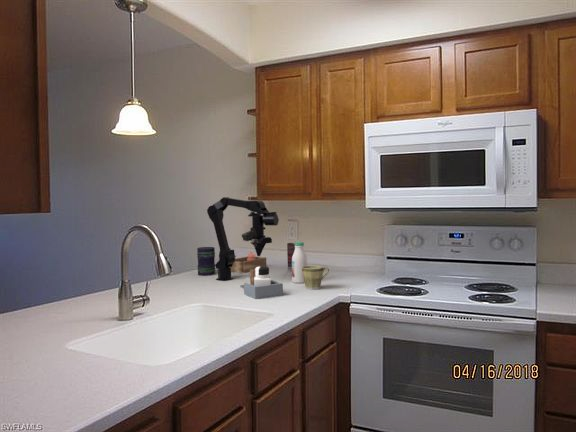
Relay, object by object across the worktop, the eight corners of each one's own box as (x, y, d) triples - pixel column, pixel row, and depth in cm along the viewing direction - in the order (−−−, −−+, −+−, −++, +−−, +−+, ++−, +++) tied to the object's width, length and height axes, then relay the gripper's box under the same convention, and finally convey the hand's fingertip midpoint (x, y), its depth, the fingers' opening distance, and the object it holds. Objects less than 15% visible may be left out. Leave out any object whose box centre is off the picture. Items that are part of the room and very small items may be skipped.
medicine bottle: (270, 291, 207) (269, 265, 207) (270, 295, 200) (270, 267, 199) (254, 292, 206) (253, 265, 206) (254, 295, 199) (254, 268, 199)
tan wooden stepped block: (245, 289, 208) (244, 269, 207) (260, 287, 212) (260, 268, 211) (249, 291, 204) (249, 271, 203) (265, 289, 208) (265, 269, 207)
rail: (240, 286, 219) (240, 285, 219) (244, 286, 221) (244, 284, 221) (247, 289, 212) (247, 288, 212) (251, 288, 214) (251, 287, 214)
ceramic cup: (305, 291, 207) (304, 269, 207) (300, 286, 217) (299, 265, 216) (332, 289, 210) (332, 267, 209) (326, 285, 220) (326, 264, 219)
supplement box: (303, 270, 264) (303, 243, 264) (298, 271, 261) (297, 243, 260) (292, 269, 270) (292, 242, 270) (287, 270, 267) (286, 243, 266)
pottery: (241, 272, 261) (241, 255, 261) (229, 271, 267) (229, 254, 266) (261, 268, 276) (260, 252, 276) (249, 267, 282) (248, 251, 281)
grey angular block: (244, 294, 202) (243, 283, 202) (270, 290, 209) (270, 279, 209) (255, 298, 193) (255, 287, 192) (282, 295, 199) (282, 283, 199)
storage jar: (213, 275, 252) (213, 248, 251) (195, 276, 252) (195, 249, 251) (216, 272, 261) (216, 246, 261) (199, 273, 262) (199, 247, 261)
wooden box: (224, 271, 267) (223, 260, 267) (249, 265, 286) (249, 256, 286) (242, 273, 259) (242, 262, 259) (267, 267, 278) (267, 257, 278)
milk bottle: (309, 281, 231) (309, 241, 230) (303, 283, 224) (303, 243, 223) (295, 280, 234) (295, 241, 234) (289, 282, 227) (288, 242, 227)
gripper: (235, 225, 234) (236, 255, 235) (251, 227, 218) (252, 259, 219) (255, 224, 240) (256, 253, 240) (272, 226, 224) (272, 257, 224)
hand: (258, 256), depth 231 cm, fingers closed
